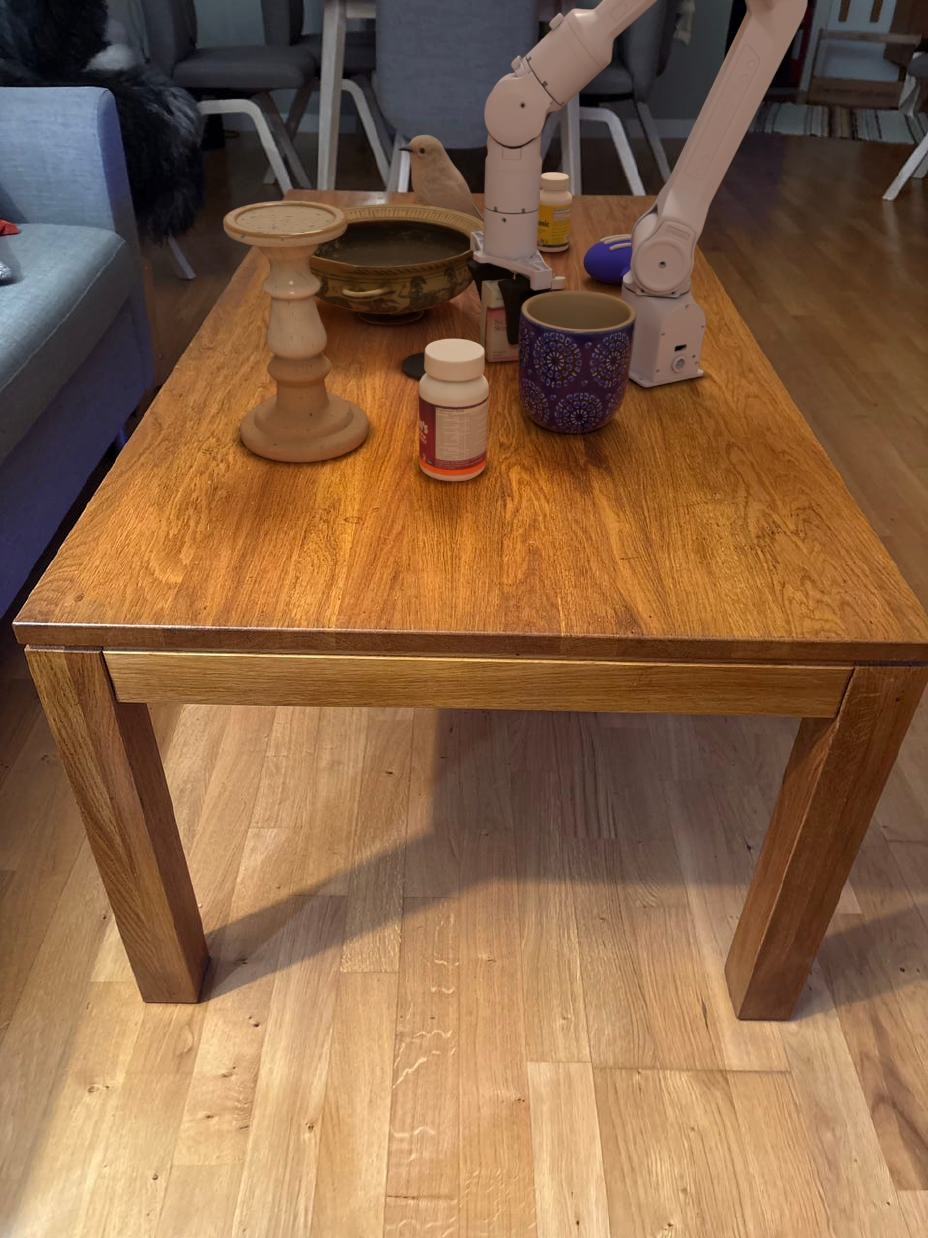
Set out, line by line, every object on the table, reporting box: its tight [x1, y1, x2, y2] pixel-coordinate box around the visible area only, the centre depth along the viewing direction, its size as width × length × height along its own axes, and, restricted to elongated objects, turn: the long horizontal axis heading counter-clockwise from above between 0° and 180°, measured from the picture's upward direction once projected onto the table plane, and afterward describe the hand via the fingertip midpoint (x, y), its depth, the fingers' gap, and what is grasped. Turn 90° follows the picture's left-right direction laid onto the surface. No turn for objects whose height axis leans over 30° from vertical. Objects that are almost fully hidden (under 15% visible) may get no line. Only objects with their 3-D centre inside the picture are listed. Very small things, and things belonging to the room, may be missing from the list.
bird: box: [397, 134, 484, 223], centre depth 136 cm, size 5×14×15 cm, turn 105°
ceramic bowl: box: [310, 203, 484, 326], centre depth 116 cm, size 30×24×10 cm
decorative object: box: [582, 233, 632, 285], centre depth 128 cm, size 10×6×10 cm
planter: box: [517, 289, 636, 435], centre depth 94 cm, size 11×11×11 cm
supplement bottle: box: [537, 171, 573, 253], centre depth 139 cm, size 5×5×10 cm
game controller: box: [551, 272, 566, 290], centre depth 124 cm, size 6×12×3 cm, turn 15°
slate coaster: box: [401, 351, 426, 381], centre depth 107 cm, size 7×7×1 cm
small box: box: [479, 279, 518, 363], centre depth 108 cm, size 5×4×8 cm
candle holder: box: [222, 200, 370, 463], centre depth 88 cm, size 12×12×20 cm
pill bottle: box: [418, 338, 490, 482], centre depth 86 cm, size 6×6×11 cm
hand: (505, 333), depth 109 cm, fingers closed on small box, 5 cm apart
